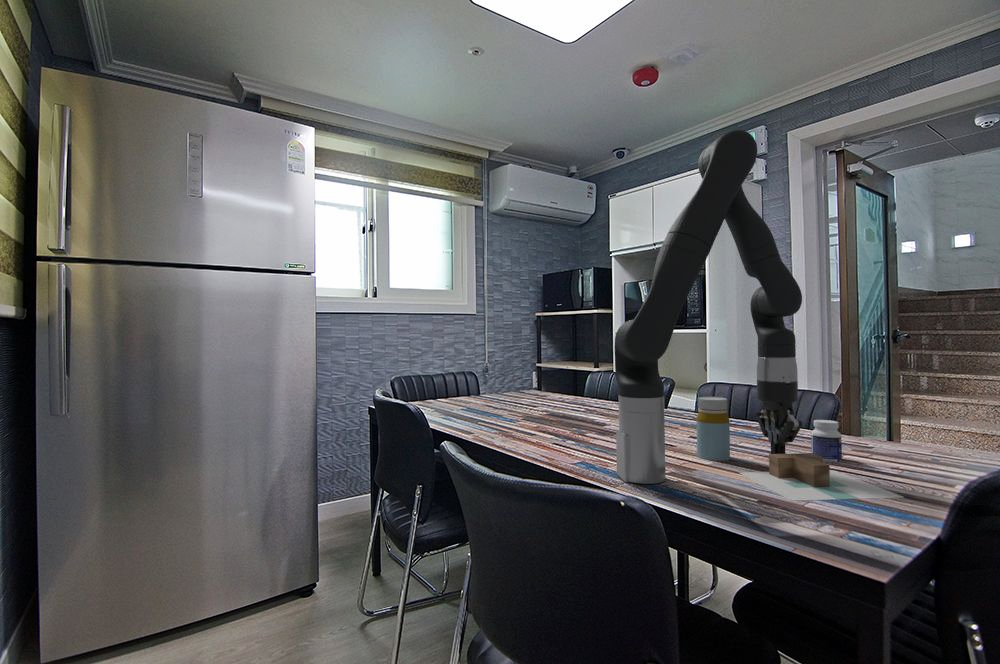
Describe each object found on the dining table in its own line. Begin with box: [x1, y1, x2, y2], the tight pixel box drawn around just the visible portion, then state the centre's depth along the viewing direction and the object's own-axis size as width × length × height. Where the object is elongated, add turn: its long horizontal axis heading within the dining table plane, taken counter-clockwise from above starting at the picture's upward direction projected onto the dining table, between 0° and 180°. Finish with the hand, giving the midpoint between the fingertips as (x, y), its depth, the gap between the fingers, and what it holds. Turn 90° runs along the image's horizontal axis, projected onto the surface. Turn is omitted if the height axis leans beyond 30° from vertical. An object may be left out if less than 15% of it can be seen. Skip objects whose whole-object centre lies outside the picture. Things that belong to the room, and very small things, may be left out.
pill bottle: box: [810, 419, 843, 463], centre depth 111 cm, size 6×6×10 cm
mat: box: [739, 469, 905, 502], centre depth 93 cm, size 20×17×2 cm
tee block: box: [768, 452, 831, 487], centre depth 95 cm, size 9×9×4 cm
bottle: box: [696, 396, 731, 462], centre depth 114 cm, size 7×7×15 cm
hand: (778, 460), depth 104 cm, fingers closed
